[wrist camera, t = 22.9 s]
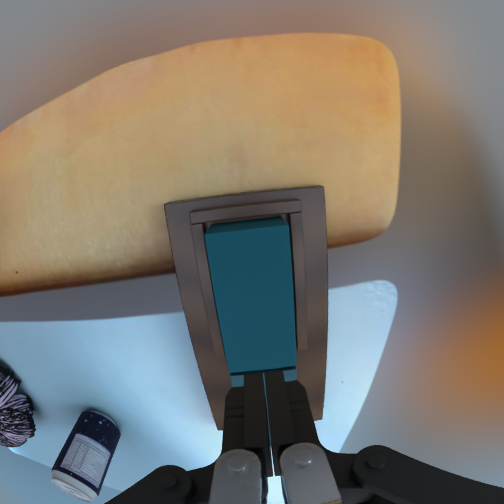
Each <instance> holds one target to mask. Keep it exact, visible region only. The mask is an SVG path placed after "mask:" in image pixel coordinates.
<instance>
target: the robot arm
mask: <svg viewBox="0 0 504 504" xmlns="http://www.w3.org/2000/svg"><path fill="white" fill-rule="evenodd" d="M264 376H265V387H266V396H265V388H264V380H263V372H252V373H244V386H239V387H231V389H230V390H229V392H228V393H227V395H226V396H225V410H224V425H223V441H222V451H221V454H220V456H219V457H218V459H217V460H216V461H215V462H213V463H212V464H210V465H208V466H206V467H203V468H199V469H194V470H190V471H186V470H184V469H183V468H181V467H179V466H175V465H165V466H161V467H159V468H157V469H155V470H154V471H152V472H151V473H150V474H148V475H147V476H146V477H144V478H143V479H141V480H140V481H138V482H137V483H135V484H134V485H133V486H131V487H130V488H128V489H127V490H125V491H124V492H122V493H121V494H119V495H117V496H116V497H114V498H113V499H111V500H110V501H108V502H106V503H104V504H267V494H268V480H267V477H272V476H273V469H272V458H271V449H272V456H273V464H274V472H275V476H281V483H282V493H283V498H284V502H285V504H504V488H502V487H497V486H493V485H489V484H485V483H482V482H478V481H474V480H472V479H468V478H465V477H462V476H459V475H456V474H453V473H450V472H447V471H444V470H441V469H439V468H436V467H433V466H430V465H428V464H426V463H423V462H420V461H418V460H415V459H413V458H411V457H408V456H406V455H404V454H401V453H399V452H397V451H394V450H392V449H390V448H388V447H385V446H381V445H373V446H369V447H366V448H364V449H362V450H361V451H359V452H358V453H357V454H345V453H335V452H332V451H329V450H327V449H326V448H324V447H323V446H322V445H321V443H320V442H319V439H318V436H317V432H316V428H315V424H314V420H313V416H312V412H311V409H310V404H309V400H308V396H307V392H306V389H305V387H304V386H303V385H302V384H301V383H300V382H299V381H298V380H293V381H286V382H285V379H284V374H283V369H279V370H271V371H264ZM266 397H267V405H266ZM267 408H268V415H267ZM268 418H269V426H268ZM269 429H270V437H269ZM270 439H271V447H270Z"/></svg>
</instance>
